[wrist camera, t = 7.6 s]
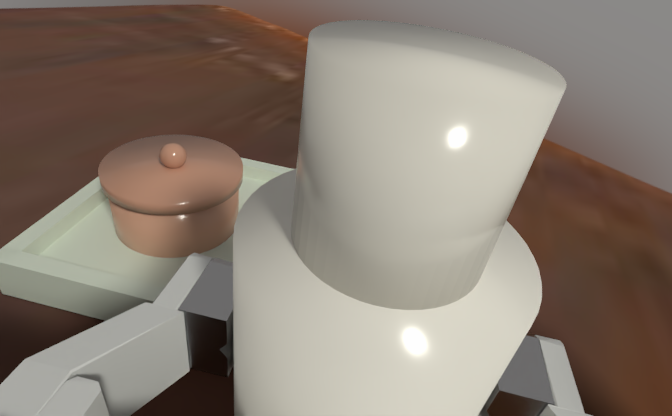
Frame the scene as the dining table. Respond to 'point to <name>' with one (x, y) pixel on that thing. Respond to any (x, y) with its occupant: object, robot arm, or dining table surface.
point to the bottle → (392, 229)
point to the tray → (98, 255)
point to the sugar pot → (172, 194)
